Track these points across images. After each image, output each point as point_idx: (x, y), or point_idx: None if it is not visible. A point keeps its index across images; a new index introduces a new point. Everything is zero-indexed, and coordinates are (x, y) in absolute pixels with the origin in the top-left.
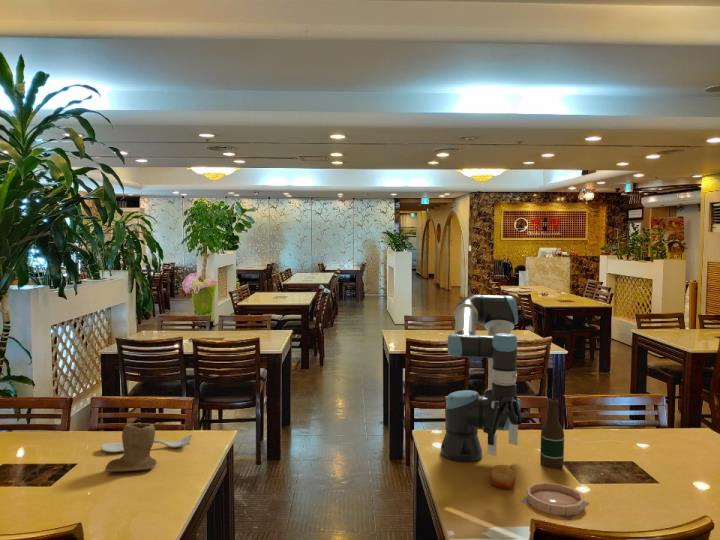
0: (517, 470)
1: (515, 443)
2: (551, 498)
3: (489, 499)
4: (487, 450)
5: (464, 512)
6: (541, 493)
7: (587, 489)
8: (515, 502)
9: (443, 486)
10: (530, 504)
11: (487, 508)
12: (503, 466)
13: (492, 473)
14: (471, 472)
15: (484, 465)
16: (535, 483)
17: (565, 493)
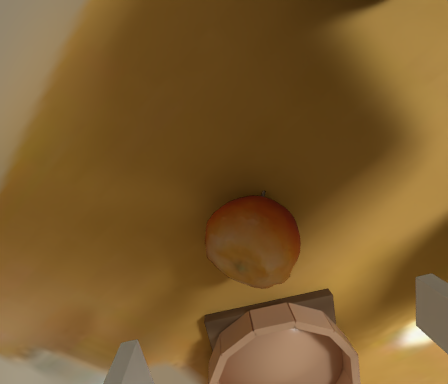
0: (406, 158)
1: (426, 328)
2: (279, 362)
3: (154, 255)
4: (112, 364)
5: (32, 274)
6: (284, 333)
7: (427, 339)
8: (206, 300)
9: (76, 108)
10: (215, 344)
11: (110, 288)
12: (269, 258)
13: (213, 237)
14: (257, 73)
15: (354, 52)
16: (303, 322)
17: (337, 360)
